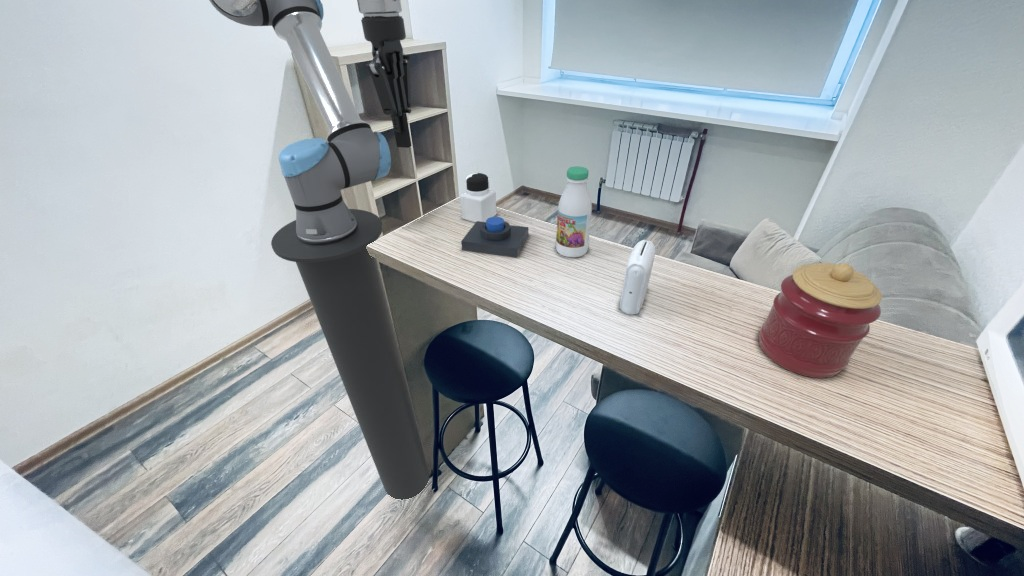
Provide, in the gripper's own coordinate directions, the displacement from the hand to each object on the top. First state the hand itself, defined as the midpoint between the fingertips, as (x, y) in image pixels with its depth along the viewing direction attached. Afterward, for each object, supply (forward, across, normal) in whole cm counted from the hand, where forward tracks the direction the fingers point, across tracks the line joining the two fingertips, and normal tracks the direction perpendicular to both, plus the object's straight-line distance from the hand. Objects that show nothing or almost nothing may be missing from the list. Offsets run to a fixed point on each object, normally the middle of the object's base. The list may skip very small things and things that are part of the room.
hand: (404, 146), depth 88 cm
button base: (+24, +6, -18) cm, 31 cm away
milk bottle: (+25, +7, -37) cm, 45 cm away
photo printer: (+25, -10, -52) cm, 59 cm away
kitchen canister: (+25, -17, -80) cm, 86 cm away
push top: (+20, +6, -18) cm, 28 cm away
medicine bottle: (+25, +18, -9) cm, 32 cm away
